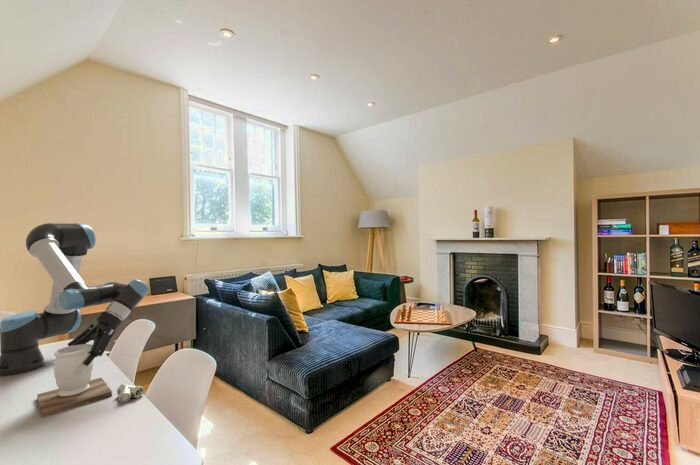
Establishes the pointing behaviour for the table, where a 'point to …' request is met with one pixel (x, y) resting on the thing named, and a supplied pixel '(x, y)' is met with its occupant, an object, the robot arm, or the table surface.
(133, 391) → the pipe fitting
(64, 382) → the jar
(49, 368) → the table surface
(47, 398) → the walnut board
